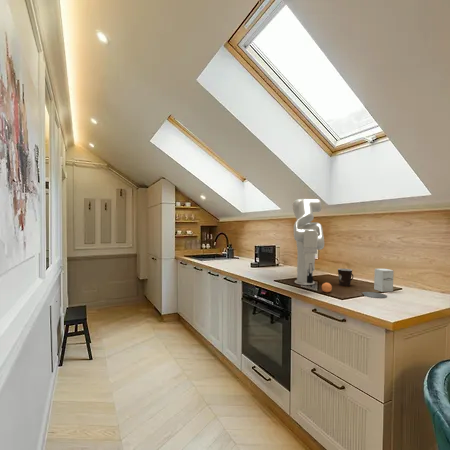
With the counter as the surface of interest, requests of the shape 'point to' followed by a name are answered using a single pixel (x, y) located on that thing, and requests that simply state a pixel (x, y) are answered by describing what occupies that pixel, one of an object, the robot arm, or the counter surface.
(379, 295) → the disc
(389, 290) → the supplement box
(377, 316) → the counter surface
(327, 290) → the ball
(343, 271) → the coffee mug
